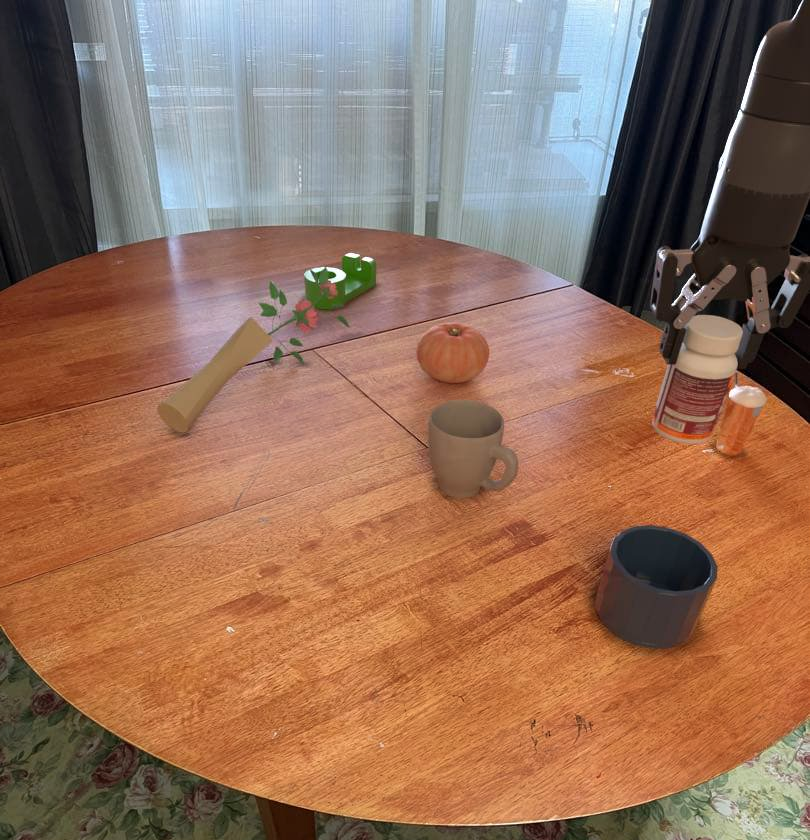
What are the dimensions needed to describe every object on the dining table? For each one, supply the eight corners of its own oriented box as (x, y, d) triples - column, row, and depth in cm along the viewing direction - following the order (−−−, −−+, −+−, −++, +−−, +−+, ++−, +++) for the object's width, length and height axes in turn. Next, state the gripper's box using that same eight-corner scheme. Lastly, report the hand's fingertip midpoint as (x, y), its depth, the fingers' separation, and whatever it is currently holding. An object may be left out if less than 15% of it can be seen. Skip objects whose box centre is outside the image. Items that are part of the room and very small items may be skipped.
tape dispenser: (330, 312, 131) (330, 286, 128) (297, 302, 134) (296, 276, 131) (377, 285, 141) (377, 260, 138) (345, 276, 144) (345, 251, 141)
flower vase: (176, 464, 108) (306, 324, 126) (236, 471, 101) (365, 322, 120) (129, 396, 100) (276, 259, 119) (191, 399, 94) (336, 252, 112)
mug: (409, 485, 94) (413, 418, 88) (453, 456, 99) (460, 391, 93) (487, 528, 88) (498, 460, 82) (529, 495, 94) (542, 428, 87)
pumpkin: (474, 357, 121) (480, 309, 116) (495, 391, 113) (502, 341, 108) (408, 361, 119) (411, 312, 114) (424, 396, 111) (427, 345, 106)
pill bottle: (722, 446, 76) (762, 340, 69) (663, 447, 75) (697, 341, 68) (696, 413, 81) (731, 312, 73) (641, 414, 80) (671, 312, 73)
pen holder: (679, 579, 83) (699, 526, 78) (707, 651, 75) (732, 597, 71) (586, 576, 83) (601, 523, 78) (605, 647, 75) (623, 593, 70)
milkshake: (725, 434, 107) (750, 369, 100) (752, 454, 103) (779, 389, 96) (699, 440, 105) (722, 375, 99) (725, 461, 101) (751, 395, 95)
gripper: (691, 184, 59) (637, 378, 70) (873, 195, 59) (792, 386, 70) (667, 159, 65) (621, 341, 76) (833, 168, 65) (764, 349, 76)
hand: (703, 362), depth 73 cm, fingers closed on pill bottle, 6 cm apart
